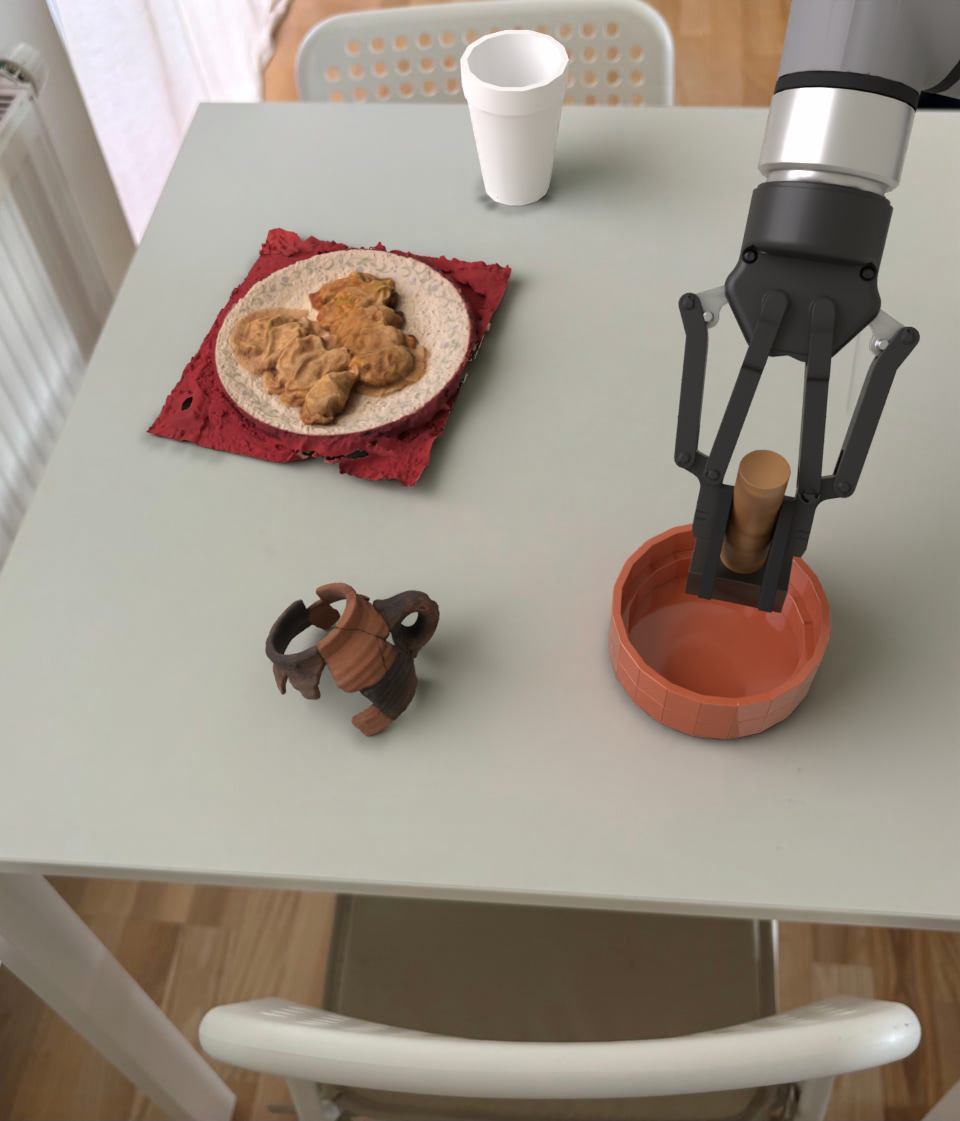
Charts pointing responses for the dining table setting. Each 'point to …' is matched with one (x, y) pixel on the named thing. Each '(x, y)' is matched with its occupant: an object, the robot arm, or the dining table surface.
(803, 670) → the bowl
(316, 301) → the plate with food
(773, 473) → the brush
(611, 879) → the dining table surface
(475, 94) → the foam cup
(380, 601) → the pottery mug
